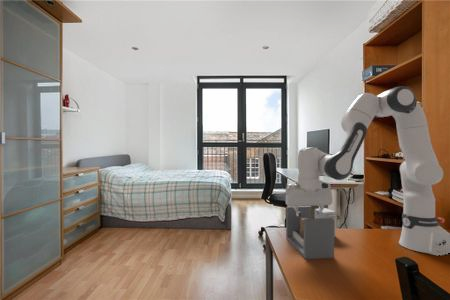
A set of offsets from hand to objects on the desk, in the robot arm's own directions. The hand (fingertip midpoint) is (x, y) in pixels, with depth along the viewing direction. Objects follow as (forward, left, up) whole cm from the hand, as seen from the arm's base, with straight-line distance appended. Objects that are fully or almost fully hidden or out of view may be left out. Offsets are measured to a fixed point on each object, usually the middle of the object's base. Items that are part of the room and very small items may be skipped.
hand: (309, 215), depth 108 cm
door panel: (0, 0, -13) cm, 13 cm away
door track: (0, 0, -14) cm, 14 cm away
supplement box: (-15, -14, -14) cm, 25 cm away
